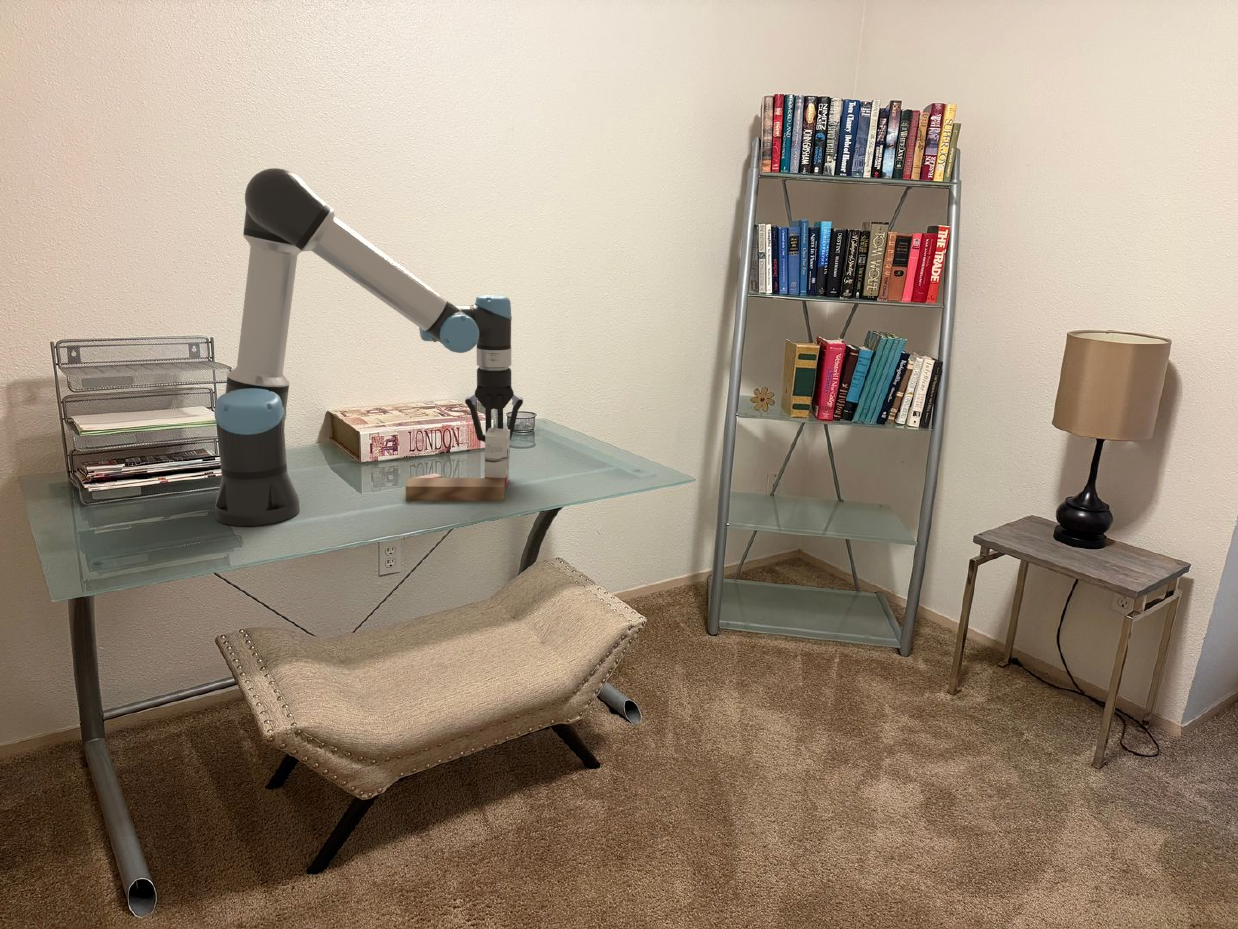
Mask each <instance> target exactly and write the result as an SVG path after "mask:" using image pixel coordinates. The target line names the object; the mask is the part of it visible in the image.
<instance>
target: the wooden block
mask: <svg viewBox="0 0 1238 929" xmlns="http://www.w3.org/2000/svg"><path fill="white" fill-rule="evenodd" d="M404 487H405V501H505V491H506V489H505V478H484V477H442V478H415V477H409V478H408V480H407V482H406V484H405V486H404Z"/></svg>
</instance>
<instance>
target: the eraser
mask: <svg viewBox="0 0 1238 929" xmlns="http://www.w3.org/2000/svg"><path fill="white" fill-rule="evenodd" d="M442 476H443V475H441V474H439V473H435V472H434V473H429V474H425V475H421V476H416V477H414V478H443V477H442Z"/></svg>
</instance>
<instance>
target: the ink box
mask: <svg viewBox="0 0 1238 929" xmlns="http://www.w3.org/2000/svg"><path fill="white" fill-rule="evenodd" d="M484 435H485V436H486V437H485V442H484V445H485V446H484V477H483V478H505V490H506V489H507V485H508V483H509V479H510V459H511V458H510V454H511V452H510V450H511V444H510V443H511V440H510V429H508V428H507V429H506V428H503V429H500V428H498V427H491V428H488V431H487V433H486V432H485V434H484Z"/></svg>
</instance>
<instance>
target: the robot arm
mask: <svg viewBox="0 0 1238 929" xmlns="http://www.w3.org/2000/svg"><path fill="white" fill-rule="evenodd" d="M244 192H245V193H244V204H245V215H244V224H243V225H244V226H243V233H242V234H243V238H244V239H245V240H246V241H247V243H248V245H249V247H250V249H249V257H248V266H247V273H246V283H245V285H246V286H245V292H244V299H243V308H242V310H243V311H242V317H241V318H242V319H241V329H240V337H239V345H238V351H237V352H238V354H237V355H238V356H237V361H236V362H237V363H236V367H235V368H234V369H233V370H231V371H229V372H228V373H227V376H226V384H225V385H226V386H225V393H223V394H221V395H220V396H218V397H217V399H216V401H215V403H214V404H215V405H214V406H215V410H214V412H213V413H214V419H215V422H216V428H217V429H216V430H217V440H218V441H217V442H218V450H219V461H220V463H219V464H220V471H221V473H220V474H221V480H220V484H219V488H218V492H217V496H216V500H215V504H214V512H215V520H217V521H218V522H219V523H221V524H225V525H229V526H234V527H235V526H236V527H252V526H253V527H255V526H265V525H272V524H276V523H280V522H283V521H287V520H289V519H291V518H293V517H295V516H296V515H298V514H299V513H300V511H301V510H300V509H301V508H300V499H299V496H298V493H297V491H296V489H295V487H294V484H293V482H292V480H291V477H290V475H289V473H288V472H289V471H288V464H287V463H288V462H287V461H288V460H287V450H286V449H287V448H286V439H285V436H286V435H285V429H286V428H285V427H286V426H285V425H286V424H285V423H286V418H287V407H288V406H287V405H288V398H289V391H290V390H289V389H290V380H288V379H287V377H286V376H285V374H284V366H285V358H286V350H287V348H286V347H287V341H288V334H289V325H290V319H291V318H290V317H291V309H292V301H293V294H294V288H295V286H294V284H295V277H296V269H297V262H298V257H299V255H300V253H302V252H312V253H314V254H315V255H317V256H319V258H321V259H322V260H324V261H325V262H327V264H330V265H331V266H332V267H334V268H335V269H336V270H338V271H340V272H341V273H342V274H343V275H345V276H346V277H348V278H349V279H351V280H352V281H353V282H355V283H356V284H358V285H359V286H360V287H362V288H363V289H365V290H366V291H367V292H369V293H370V294H372V295H373V296H375V297H376V298H377V299H379V300H380V301H381V302H383V303H385V305H387V306H388V307H389V308H392V309H393V310H394V311H396V312H397V313H398V314H400V315H401V316H403V317H404V318H406V319H407V320H408V321H409V322H411V323H412V324H414V325H415V326H417V327H418V330H419V335H420V339H421V340H422V341H424V342H433V343H437V342H439V343H440V344H442V346H443V347H444V348H446V349H447V350H448V351H450V352H453V353H457V354H464V353H468V352H470V351H472V350H473V349H474V348H475V347H476V366H477V367H478V368H477V369H476V389H475V390H474V393H473V394H472V395H470V396H467V397H465V400H464V403H465V405H466V406H467V408H468V409H469V412H470V416H471V420H472V423H473V426H474V430H475V434H476V438H477V441H479V442H484V443H485V437H486V436H485V435H486V433H487V431H488V428H492V410H496V414H497V416H496V417H497V422H496V423H497V428H500V429H504V408H506V407H507V405H508V404H509V402H510V401H512V402H511V405H512V410H511V415H510V418H509V422H508V426H507V429H510V441H511V440H512V437H513V432H514V429H515V425H516V421H517V417H518V412H519V410H520V408H521V407H522V406H523V403H524V399H523V398H522V397H519V396H518V395H516V394H515V393H514V392H515V391H514V390H513V387H512V369H511V368H510V367H511V366H512V320H513V317H512V303H511V300H510V298H508V296H505V295H497V294H486V295H485V294H482V295H477V296H476V297H475V302H474V304H471V305H470V304H469V305H457V304H456V305H454V304H453V303H451V302H450V301H448V300H447V299H446V298H445V297H443V296H442V295H441V294H439V293H438V292H436V291H435V290H434V289H432V288H431V287H430V286H428V285H427V284H425V283H424V282H423V281H422V280H421V279H419V278H417V277H416V276H415V275H414V274H412V273H411V272H410V271H408V270H407V269H406V268H404V267H403V266H401V264H399V263H398V262H396V261H394V260H393V259H392V258H391V257H389V255H387V254H385V253H384V252H383V251H381V250H380V249H379V248H377V247H375V245H374V244H372V243H370V242H369V241H368V240H367V239H365V238H364V237H362V236H361V235H360V234H359V233H357V232H356V231H354V230H353V229H351V228H350V227H349V226H348V225H346V224H345V223H344V222H342V221H341V220H339V219H338V218H337V217H336V215H335V210H334V208H333V207H331V206H330V205H329V204H328V203H326V202H325V201H324V200H322V199H321V198H320V197H319V196H318V195H317V194H316V193H314V192H313V190H311V189H310V187H309V186H308V185H307V184H306V183H305V181H304V180H303V179H302V178H301V177H300V176H298V175H297V174H295V173H294V172H292V171H289V170H287V169H283V168H277V167H276V168H275V167H274V168H266V169H263V170H261V171H259V172H257V173H256V174H255V175H254V176H253V177H252V178H251V179H250V180H249V182H248V184H247V185H246V188H245V191H244ZM477 400H478V402H479V403H480V404H481V406H482V407H483V408H484V409H485V410H484V411H485V412H484V414H485V434H484V432H483V428H482V425H481V421H480V417H479V412H478V409H477V406H476V405H477V403H478V402H477Z"/></svg>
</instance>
